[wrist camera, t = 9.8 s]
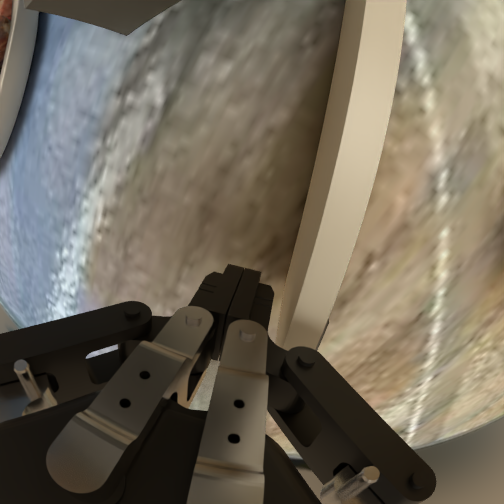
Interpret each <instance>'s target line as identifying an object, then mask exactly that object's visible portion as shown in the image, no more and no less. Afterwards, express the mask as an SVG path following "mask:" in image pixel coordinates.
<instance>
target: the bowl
mask: <svg viewBox="0 0 504 504" xmlns="http://www.w3.org/2000/svg"><path fill="white" fill-rule="evenodd" d="M38 18H39V11H35V10H29V9H25V5H24V0H0V158H1V156H2V154H3V152H4V150H5V148H6V145H7V143H8V140H9V138H10V135H11V132H12V130H13V127H14V124H15V121H16V118H17V115H18V112H19V109H20V105H21V102H22V98H23V95H24V91H25V87H26V83H27V79H28V75H29V71H30V66H31V62H32V57H33V52H34V47H35V41H36V35H37V27H38Z"/></svg>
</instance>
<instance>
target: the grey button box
mask: <svg viewBox="0 0 504 504" xmlns="http://www.w3.org/2000/svg"><path fill="white" fill-rule="evenodd" d="M179 1H180V0H24V5H25V9H29V10H35V11H40V12H45V13H50V14H54V15H59V16H63V17H67V18H71V19H75V20H79V21H82V22H86V23H89V24H93V25H96V26H99V27H103V28H106V29H109V30H112V31H115V32H118V33H121V34H124V35H126V36H127V35H128V34H130V33H131V32H132V31H134V30H135V29H137V28H138V27H139V26H141V25H142V24H144V23H145V22H147V21H148V20H150V19H151V18H153V17H154V16H156V15H157V14H159V13H160V12H162V11H164V10H165V9H167V8H169V7H170V6H172V5H174V4H175V3H177V2H179Z"/></svg>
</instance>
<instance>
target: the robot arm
mask: <svg viewBox="0 0 504 504" xmlns="http://www.w3.org/2000/svg"><path fill="white" fill-rule="evenodd" d="M260 277H261V272H260V271H256V270H251V269H247V268H245V270H244V268H243V267H239V266H235V265H231V264H228V265H227V267H226V269H225V271H224V273H223V274H221V273H217V272H213V273H211V274H209V275H207V276H206V277H205V279H204V280H203V282H202V284H201V285H200V287H199V289H198V290H197V292H196V293H195V295H194V297H193V298H192V300H191V302H190V303H189V305H188V306H186V307H182V308H180V309H178V310H177V311H176V312H175V313H174V315H173V316H171V317H162V316H152V312H151V309H150V308H149V307H148V306H147V305H146V304H144V303H141V302H137V301H127V302H123V303H119V304H116V305H112V306H108V307H104V308H100V309H97V310H93V311H89V312H85V313H81V314H77V315H74V316H70V317H66V318H62V319H58V320H54V321H50V322H46V323H42V324H38V325H34V326H30V327H26V328H22V329H18V330H14V331H10V332H6V333H2V334H0V504H322V503H323V504H419V503H421V502H422V501H424V500H426V499H427V498H429V497H430V496H431V495H432V493H433V492H434V490H435V487H436V477H435V474H434V472H433V470H432V469H431V468H430V467H429V466H428V465H427V464H426V463H425V462H424V461H423V460H422V459H421V458H420V457H419V456H418V455H417V454H416V453H415V452H414V451H413V450H412V449H411V448H410V447H409V446H408V445H407V443H406V442H405V441H404V440H403V439H402V438H401V437H400V436H399V435H398V434H397V433H396V432H395V431H394V430H393V429H392V428H391V427H390V426H389V425H388V424H387V423H386V422H385V421H384V420H383V419H382V418H381V417H380V416H379V415H378V414H377V413H376V412H375V411H374V410H373V409H372V408H371V406H370V405H369V404H368V403H367V402H366V401H365V400H364V399H363V398H362V397H361V396H360V395H359V394H358V393H357V392H356V391H355V390H354V389H353V388H352V387H351V386H350V385H349V383H348V382H347V381H346V380H345V379H344V378H343V377H342V376H341V375H340V374H339V373H338V372H337V371H336V370H335V369H334V368H333V367H332V366H331V364H330V363H329V362H328V361H327V360H326V359H325V358H324V357H323V356H322V355H321V354H320V353H319V352H317V351H316V350H314V349H312V348H309V347H304V346H297V347H293V348H291V349H290V350H289V351H287V350H285V349H283V348H281V347H279V346H277V345H276V344H275V343H274V342H272V340H271V339H270V337H269V335H268V325H269V320H270V314H271V309H272V303H273V297H274V292H273V290H272V287H271V286H270V285H266V284H262V283H259V281H260ZM116 344H118V349H117V350H114V351H111V352H108V353H104V354H101V355H98V356H95V357H91V358H88V359H85V358H86V356H87V355H88V354H89V353H91V352H93V351H97V350H100V349H103V348H106V347H110V346H113V345H116ZM219 355H220V358H219ZM218 358H219V361H220V365H219V367H218V370H217V375H216V379H215V383H214V387H213V392H212V396H211V400H210V405H209V409H208V411H201V410H191V409H189V406H190V404H191V402H192V400H193V398H194V396H195V394H196V392H197V391H198V389H199V387H200V385H201V383H202V381H203V379H204V377H205V375H206V370H207V368H208V366H209V363H210V361H211V359H213V360H217V361H218ZM267 410H268V412H269V413H270V415H271V416H272V418H273V419H274V421H275V422H276V423H277V425H278V426H279V427H280V429H281V430H282V432H283V433H284V434H285V436H286V437H287V438H288V440H289V441H290V442H291V444H292V445H293V446H294V448H295V449H296V450H297V452H298V453H299V454H300V456H301V457H302V458H303V460H304V461H305V462H306V463H307V465H308V466H309V467H310V469H311V470H312V471H313V472H314V474H315V475H316V476H317V477H318V478H319V480H320V481H321V482H322V484H323V485H324V486H323V487H322V490H321V493H320V498H321V502H322V503H321V502H320V501H319V499H318V498H317V497H316V495H315V494H314V493H313V491H312V490H311V488H310V487H309V486H308V484H307V483H306V481H305V480H304V479H303V477H302V476H301V474H300V473H299V472H298V470H297V469H296V467H295V466H294V464H293V463H292V461H291V460H290V459H289V457H288V456H287V454H286V453H285V451H284V450H283V449H282V448H281V447H280V445H279V444H278V443H276V442H275V441H274V440H273V439H272V438H270V437H269V436H268V435H266V434H265V432H266V417H267Z"/></svg>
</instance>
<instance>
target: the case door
mask: <svg viewBox="0 0 504 504" xmlns="http://www.w3.org/2000/svg"><path fill="white" fill-rule="evenodd" d="M405 12H406V0H346V2H345V9H344V15H343V21H342V27H341V33H340V39H339V45H338V51H337V56H336V62H335V67H334V73H333V78H332V83H331V88H330V94H329V99H328V104H327V109H326V113H325V118H324V123H323V128H322V133H321V137H320V142H319V147H318V151H317V156H316V160H315V165H314V169H313V173H312V178H311V182H310V186H309V191H308V195H307V199H306V203H305V207H304V211H303V216H302V220H301V224H300V228H299V232H298V236H297V240H296V244H295V247H294V251H293V255H292V259H291V263H290V267H289V270H288V274H287V278H286V282H285V285H284V292H283V298H282V305H281V311H280V317H279V323H278V329H277V335H276V341H275V344H276V345H277V346H279V347H281V348H283V349H285V350H287V351H289V350H290V349H291V348H293V347H297V346H304V347H309V348H312V349H314V350H316V351H317V350H318V347H319V345H320V343H321V340H322V338H323V336H324V333H325V331H326V328H327V326H328V324H329V315H330V313H331V310H332V308H333V305H334V303H335V300H336V297H337V295H338V292H339V289H340V287H341V284H342V281H343V278H344V276H345V273H346V270H347V267H348V264H349V261H350V258H351V255H352V253H353V250H354V247H355V243H356V240H357V237H358V234H359V231H360V228H361V225H362V222H363V218H364V215H365V212H366V208H367V205H368V201H369V198H370V194H371V191H372V187H373V184H374V180H375V176H376V172H377V169H378V165H379V161H380V157H381V153H382V149H383V144H384V140H385V136H386V131H387V127H388V122H389V117H390V113H391V108H392V103H393V97H394V92H395V86H396V81H397V75H398V68H399V62H400V55H401V48H402V40H403V32H404V22H405Z"/></svg>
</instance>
